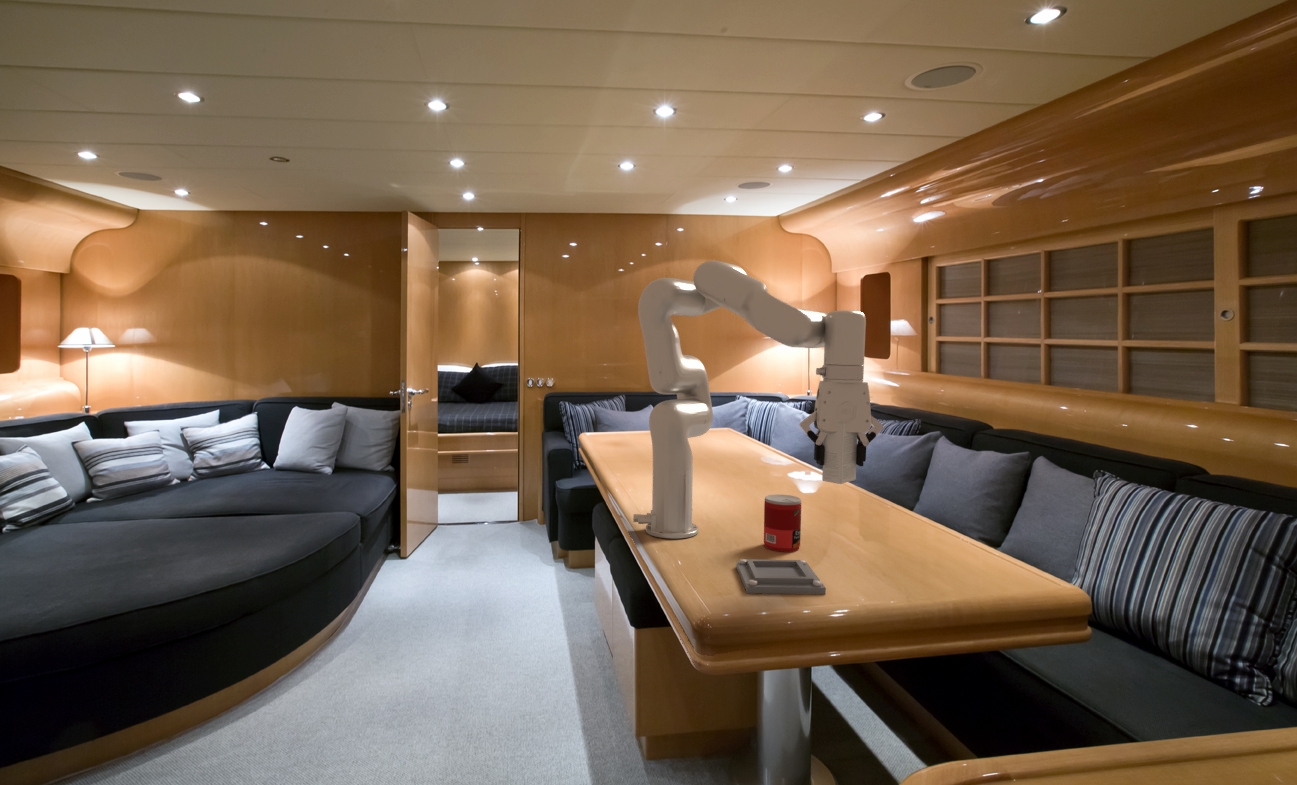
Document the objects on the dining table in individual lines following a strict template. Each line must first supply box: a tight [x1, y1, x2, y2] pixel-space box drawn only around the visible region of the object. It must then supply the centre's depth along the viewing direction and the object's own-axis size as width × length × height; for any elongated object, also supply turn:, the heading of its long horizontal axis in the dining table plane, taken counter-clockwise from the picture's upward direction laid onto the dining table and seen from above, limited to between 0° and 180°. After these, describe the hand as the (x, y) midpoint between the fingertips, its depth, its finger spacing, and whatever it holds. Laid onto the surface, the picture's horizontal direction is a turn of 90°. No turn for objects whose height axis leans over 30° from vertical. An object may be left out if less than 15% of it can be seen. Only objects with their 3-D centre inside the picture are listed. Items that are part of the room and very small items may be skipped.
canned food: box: [763, 494, 802, 553], centre depth 142 cm, size 8×8×11 cm
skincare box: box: [821, 422, 858, 485], centre depth 126 cm, size 6×4×12 cm
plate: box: [735, 558, 827, 595], centre depth 121 cm, size 14×14×2 cm
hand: (839, 464), depth 126 cm, fingers closed on skincare box, 7 cm apart
